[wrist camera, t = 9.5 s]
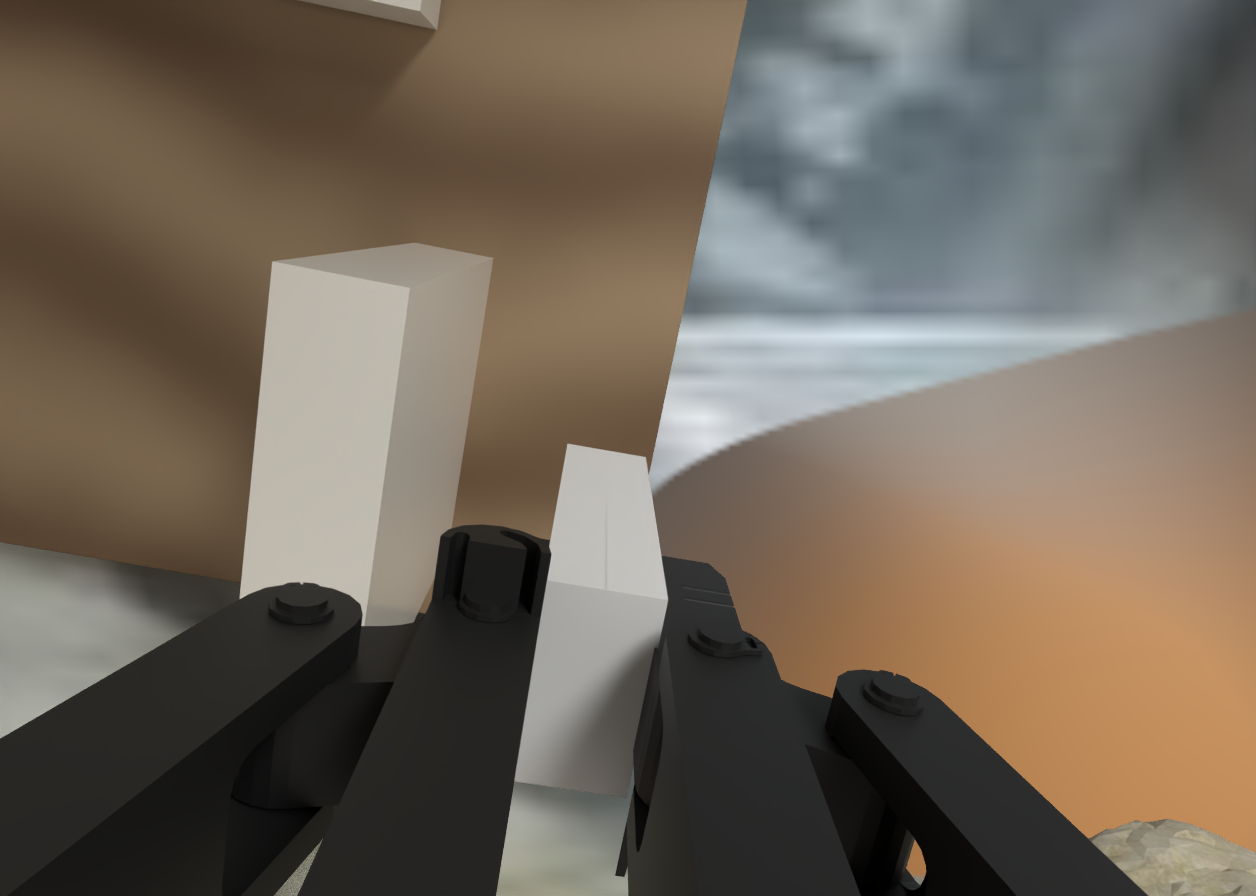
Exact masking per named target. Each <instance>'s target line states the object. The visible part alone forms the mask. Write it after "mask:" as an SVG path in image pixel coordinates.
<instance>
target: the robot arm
mask: <svg viewBox="0 0 1256 896" xmlns="http://www.w3.org/2000/svg"><path fill="white" fill-rule="evenodd" d="M733 606H734V604H733V601H732V598H731V596H730V592H729V589H728V586H727V582H726V579H725V578H724V577H723V576H722V575H721V574H720V573H718V572H717V571H716V570H715V569H714V568H713V567H712V566H711V565H709V564H708V563H702V562H695V561H689V560H684V559H677V558H671V557H666V556H661V551H660V545H659V538H658V532H657V526H656V520H655V513H654V507H653V500H652V494H651V487H650V481H649V475H648V468H647V462H646V457H642V456H636V455H631V454H625V453H619V452H613V451H607V450H602V449H596V448H590V447H584V446H578V445H573V444H567V449H566V455H565V461H564V466H563V472H562V478H561V483H560V489H559V494H558V500H557V506H556V511H555V517H554V523H553V528H552V534H551V539H550V540H547V539H541V538H538V537H535V536H533V535H531V534H528V533H526V532H523V531H520V530H516V529H512V528H507V527H503V526H494V525H483V524H479V525H462V526H459V527H455V528H451V529H448V530H447V531H446V532H445V533H443V534H442V535H441V536H440V543H439V550H438V557H437V564H436V571H435V578H434V585H433V592H432V600H431V602H430V604H429V607H428V609H427V611H426V613H425V615H424V618H423V620H420V621H417V622H413V623H408V624H403V625H392V626H361V625H362V616H363V613H362V609H361V604H360V603H358V602H357V601H356V600H355V599H354V598H353V597H351V596H350V595H348V594H346V593H343V592H341V591H338V590H335V589H333V588H328V587H322V586H319V585H318V584H315V583H306V582H303V584H300V582H290V583H286V584H285V585H279V586H272V587H266V588H263V589H261V590H258V591H256V592H253V593H250V594H248V595H246V596H245V597H243V598H241V599H239V600H238V601H236V602H234V603H233V604H231V605H229V606H227V607H226V608H224V609H222V610H221V611H219V612H217V613H215V614H214V615H212V616H210V617H209V618H207V619H205V620H203V621H202V622H200V623H198V624H196V625H195V626H193V627H191V628H190V629H188V630H186V631H184V632H183V633H181V634H179V635H178V636H176V637H174V638H172V639H171V640H169V641H167V642H166V643H164V644H162V645H160V646H159V647H157V648H155V649H154V650H152V651H150V652H148V653H147V654H145V655H143V656H142V657H140V658H138V659H136V660H135V661H133V662H131V663H130V664H128V665H126V666H124V667H123V668H121V669H119V670H117V671H116V672H114V673H112V674H111V675H109V676H107V677H105V678H104V679H102V680H100V681H99V682H97V683H95V684H93V685H92V686H90V687H88V688H87V689H85V690H83V691H81V692H80V693H78V694H76V695H75V696H73V697H71V698H69V699H68V700H66V701H64V702H63V703H61V704H59V705H57V706H56V707H54V708H52V709H51V710H49V711H47V712H45V713H44V714H42V715H40V716H39V717H37V718H35V719H33V720H32V721H30V722H28V723H26V724H25V725H23V726H21V727H20V728H18V729H16V730H14V731H13V732H11V733H9V734H8V735H6V736H4V737H2V738H1V739H0V896H274V895H275V893H276V892H277V891H278V890H279V889H280V888H281V886H282V885H283V884H284V883H285V882H286V881H287V880H288V878H289V877H290V876H291V875H292V874H293V873H294V871H295V870H296V869H297V868H298V867H299V866H300V865H301V863H302V862H303V861H304V860H305V859H306V858H307V856H308V855H309V854H310V853H311V852H312V851H313V850H314V848H315V847H316V846H317V845H318V844H319V843H320V841H321V840H322V839H323V841H322V843H321V845H320V847H319V849H318V852H317V854H316V856H315V858H314V860H313V863H312V865H311V867H310V869H309V872H308V874H307V876H306V878H305V880H304V883H303V885H302V887H301V889H300V891H299V894H298V896H496V892H497V885H498V879H499V873H500V867H501V860H502V854H503V848H504V842H505V836H506V829H507V823H508V817H509V811H510V805H511V798H512V792H513V786H514V781H516V782H523V783H529V784H536V785H543V786H550V787H557V788H563V789H570V790H577V791H584V792H591V793H597V794H604V795H611V796H618V797H625V798H627V794H628V789H629V784H630V780H631V775H632V770H633V765H634V781H635V784H634V789H633V794H632V799H631V803H630V808H629V813H628V817H627V822H626V827H625V832H624V836H623V841H622V846H621V851H620V855H619V860H618V865H617V870H616V874H615V876H622V877H624V876H625V873H626V870H627V867H628V893H629V896H1148V895H1147V894H1146V893H1145V892H1144V891H1143V890H1142V889H1141V888H1140V887H1139V886H1138V885H1137V884H1136V883H1134V882H1133V881H1132V880H1131V879H1130V878H1129V877H1128V876H1127V875H1126V874H1125V873H1124V872H1123V871H1122V870H1121V869H1120V868H1119V867H1118V866H1116V865H1115V864H1114V863H1113V862H1112V861H1111V860H1110V859H1109V858H1108V857H1107V856H1106V855H1105V854H1104V853H1103V852H1102V851H1101V850H1099V849H1098V848H1097V847H1096V846H1095V845H1094V844H1093V843H1092V842H1091V841H1090V840H1089V839H1088V838H1087V837H1085V835H1084V834H1082V833H1081V832H1080V831H1079V830H1078V829H1077V828H1076V827H1075V826H1074V825H1073V824H1072V823H1071V822H1070V821H1069V820H1067V818H1066V817H1064V816H1063V815H1062V814H1061V813H1060V812H1059V811H1058V810H1057V809H1056V808H1055V807H1054V806H1053V805H1052V804H1051V803H1050V802H1049V801H1047V800H1046V799H1045V798H1044V797H1043V796H1042V795H1041V794H1040V793H1039V792H1038V791H1037V790H1036V789H1035V788H1034V787H1033V786H1031V784H1029V783H1028V782H1027V781H1026V780H1025V779H1024V778H1023V777H1022V776H1021V775H1020V774H1019V773H1018V772H1017V771H1016V770H1015V769H1013V768H1012V767H1011V766H1010V765H1009V764H1008V763H1007V762H1006V761H1005V760H1004V759H1003V758H1002V757H1001V756H1000V755H999V754H998V753H996V751H994V750H993V749H992V748H991V747H990V746H989V745H988V744H987V743H986V742H985V741H984V740H983V739H982V738H981V737H980V736H979V735H977V734H976V733H975V732H974V731H973V730H972V729H971V728H970V727H969V726H968V725H967V724H966V723H965V722H964V721H963V720H962V719H961V718H959V717H958V716H957V715H956V714H955V713H954V712H953V711H952V710H951V709H950V708H949V707H948V706H947V705H946V704H945V703H944V702H942V701H941V700H940V699H939V698H937V697H936V696H935V695H933V694H932V693H931V692H929V691H928V690H927V689H925V688H923V687H921V686H919V685H917V684H915V683H912V682H911V681H910V679H908V678H906V677H904V676H901V675H898V674H896V676H894V675H893V673H892V672H888V671H883V670H880V671H871V670H854V671H847V672H845V673H843V674H842V675H840V676H838V679H837V683H836V686H835V690H834V694H833V698H830V697H827V696H824V695H821V694H818V693H814V692H811V691H808V690H805V689H802V688H800V687H797V686H794V685H792V684H789V683H787V682H785V681H783V680H781V678H780V675H779V673H778V670H777V667H776V665H775V662H774V659H773V656H772V654H771V652H770V651H769V650H768V648H767V647H766V645H765V644H764V643H763V642H761V641H760V640H758V638H756V637H754V636H753V635H751V634H749V633H747V632H745V631H742V629H741V626H740V623H739V620H738V617H737V613H736V610H735V608H733ZM914 840H916V842H917V843H918V845H919V847H920V849H921V850H922V854H923V857H924V861H925V864H926V875H925V878H924V880H923V882H922V884H921V886H920V885H919V884H918V883H917V882H916V881H915V880H914V878H913V877H912V876H911V874H910V873H909V872H908V870H907V869H906V866H907V862H908V860H909V856H910V853H911V850H912V846H913V843H914Z"/></svg>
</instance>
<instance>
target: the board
mask: <svg viewBox="0 0 1256 896" xmlns="http://www.w3.org/2000/svg"><path fill="white" fill-rule="evenodd" d="M747 1H748V0H441V5H440V12H439V20H438V27H437V30H436V29H431V28H426V27H421V26H417V25H412V24H407V23H403V22H398V21H393V20H389V19H384V18H379V17H374V16H370V15H365V14H360V13H356V12H351V11H346V10H341V9H337V8H332V7H327V6H323V5H318V4H313V3H309V2H304V1H299V0H0V542H3V543H9V544H15V545H21V546H27V547H33V548H39V549H45V550H51V551H56V552H62V553H68V554H74V555H80V556H86V557H92V558H98V559H104V560H110V561H116V562H122V563H128V564H134V565H140V566H146V567H152V568H158V569H163V570H169V571H175V572H181V573H187V574H193V575H199V576H205V577H211V578H217V579H223V580H229V581H235V582H241V578H242V568H243V558H244V548H245V537H246V527H247V517H248V506H249V496H250V486H251V475H252V465H253V455H254V445H255V434H256V424H257V414H258V403H259V393H260V383H261V372H262V362H263V352H264V341H265V331H266V321H267V311H268V300H269V290H270V280H271V269H272V261H279V260H287V259H294V258H302V257H310V256H317V255H325V254H332V253H340V252H348V251H355V250H363V249H370V248H378V247H386V246H393V245H401V244H408V243H419V244H424V245H430V246H435V247H440V248H445V249H450V250H455V251H460V252H465V253H470V254H475V255H481V256H486V257H491V258H493V265H492V271H491V277H490V284H489V290H488V297H487V303H486V310H485V316H484V323H483V329H482V335H481V342H480V348H479V355H478V361H477V368H476V374H475V380H474V387H473V393H472V400H471V406H470V413H469V419H468V425H467V432H466V438H465V445H464V451H463V458H462V464H461V471H460V477H459V483H458V490H457V496H456V503H455V509H454V516H453V522H452V528H455V527H459V526H462V525H479V524H483V525H494V526H503V527H507V528H512V529H516V530H520V531H523V532H526V533H528V534H531V535H533V536H535V537H538V538H541V539H547V540H550V539H551V534H552V528H553V523H554V517H555V511H556V506H557V500H558V494H559V489H560V483H561V478H562V472H563V466H564V461H565V455H566V449H567V444H573V445H578V446H584V447H590V448H596V449H602V450H607V451H613V452H619V453H625V454H631V455H636V456H642V457H646V462H647V468H648V475H649V471H650V466H651V461H652V457H653V452H654V447H655V442H656V437H657V433H658V428H659V423H660V418H661V413H662V409H663V404H664V399H665V394H666V389H667V385H668V380H669V375H670V370H671V365H672V361H673V356H674V351H675V346H676V341H677V337H678V332H679V327H680V322H681V317H682V313H683V308H684V303H685V298H686V293H687V289H688V284H689V279H690V274H691V269H692V265H693V260H694V255H695V250H696V245H697V241H698V236H699V231H700V226H701V221H702V217H703V212H704V207H705V202H706V197H707V193H708V188H709V183H710V178H711V173H712V169H713V164H714V159H715V154H716V149H717V145H718V140H719V135H720V130H721V125H722V121H723V116H724V111H725V106H726V101H727V97H728V92H729V87H730V82H731V77H732V73H733V68H734V63H735V58H736V53H737V49H738V44H739V39H740V34H741V29H742V25H743V20H744V15H745V10H746V5H747ZM433 585H434V580H433V582H432V584H431V587H430V589H429V591H428V593H427V595H426V597H425V599H424V601H423V603H422V605H421V607H420V609H419V613H426V611H427V609H428V607H429V604H430V602H431V600H432V592H433Z"/></svg>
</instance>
